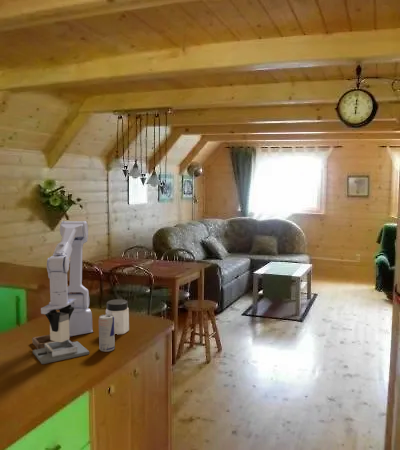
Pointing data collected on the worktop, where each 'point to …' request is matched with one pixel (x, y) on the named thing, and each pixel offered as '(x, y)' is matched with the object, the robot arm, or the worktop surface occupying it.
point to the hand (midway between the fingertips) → (60, 329)
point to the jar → (119, 315)
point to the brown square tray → (41, 339)
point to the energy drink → (106, 333)
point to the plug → (61, 329)
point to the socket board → (59, 351)
